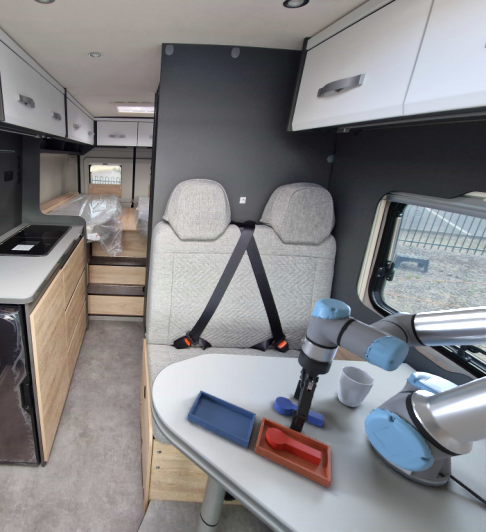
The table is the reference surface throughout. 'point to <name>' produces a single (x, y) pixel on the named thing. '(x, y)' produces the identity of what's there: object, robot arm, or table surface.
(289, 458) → the red tray
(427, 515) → the table surface
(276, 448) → the red spoon
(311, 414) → the blue spoon
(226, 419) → the blue tray
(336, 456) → the table surface
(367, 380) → the cup
